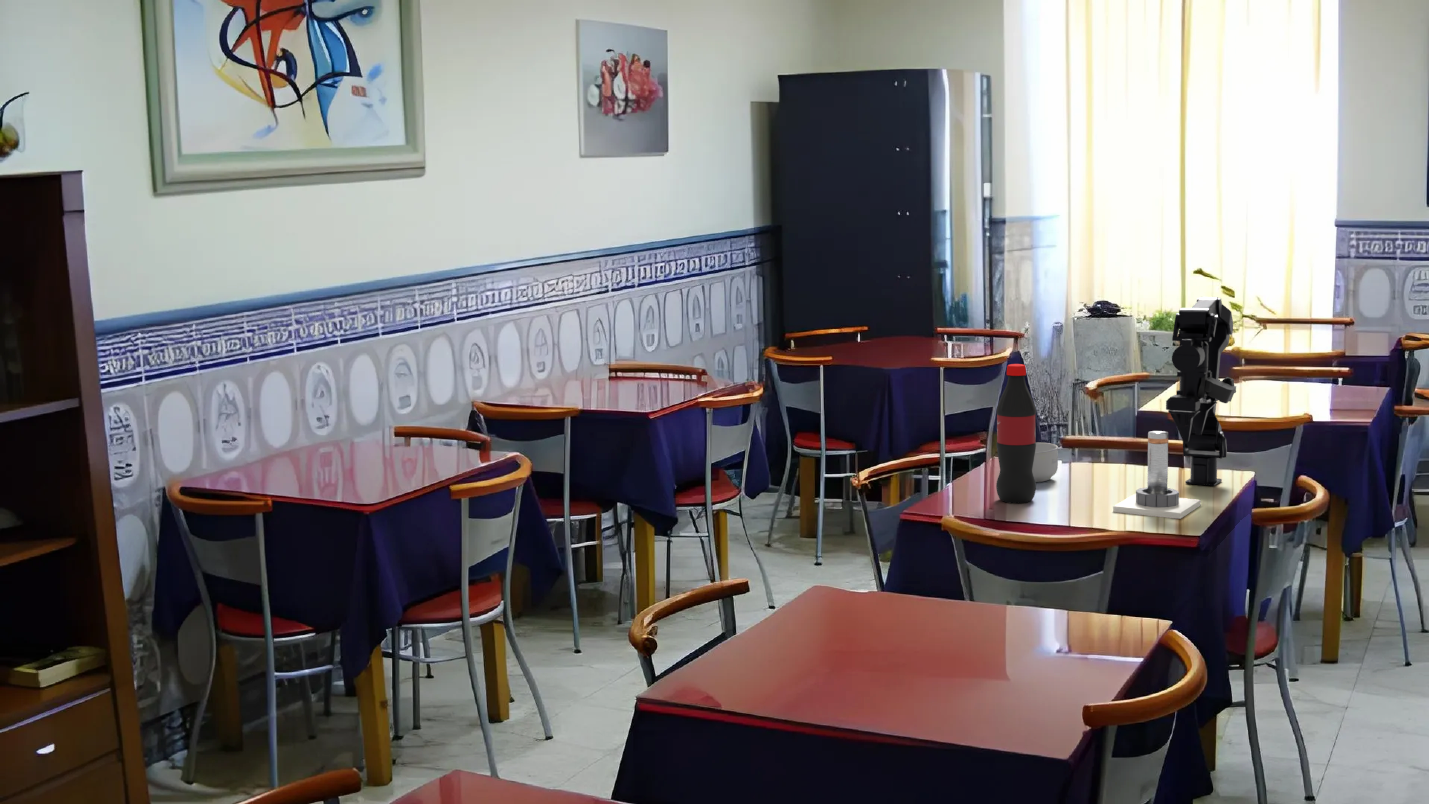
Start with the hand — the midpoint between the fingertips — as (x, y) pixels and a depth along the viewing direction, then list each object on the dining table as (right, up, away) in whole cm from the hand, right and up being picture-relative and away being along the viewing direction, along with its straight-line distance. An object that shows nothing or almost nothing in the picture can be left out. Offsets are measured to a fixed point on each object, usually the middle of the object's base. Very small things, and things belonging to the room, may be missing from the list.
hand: (1192, 438), depth 313 cm
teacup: (-29, -10, +27) cm, 40 cm away
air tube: (-10, -13, -8) cm, 18 cm away
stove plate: (-10, -15, -8) cm, 19 cm away
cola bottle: (-37, -14, +4) cm, 40 cm away
